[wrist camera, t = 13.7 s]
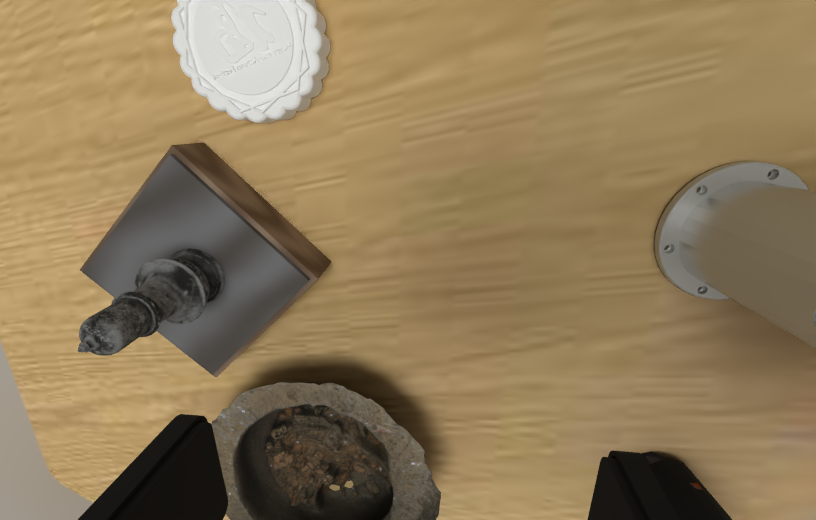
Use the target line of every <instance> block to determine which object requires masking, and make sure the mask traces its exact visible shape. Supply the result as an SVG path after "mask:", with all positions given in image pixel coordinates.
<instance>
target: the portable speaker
mask: <svg viewBox="0 0 816 520" xmlns="http://www.w3.org/2000/svg"><path fill="white" fill-rule="evenodd" d="M641 455H642V456H643V457H644V458H645V460H646V462H647V463H648V465H649V467H650V469H651V470H652V472H653V474H654V476H655V477H656V479H657V481H658V482H659V484H660V486H661V488H662V489H663V491H664V493H665V495H666V496H667V498H668V500H669V502H670V503H671V505H672V507H673V509H674V510H675V512H676V514H677V516H678V517H679V519H680V520H732V519H731V518H730V516H729V515H728V514H727V513H726V512H725V511H724V509H723V508H722V507H721V506H720V505H719V504H718V502H717V501H716V500H715V499H714V498H713V496H712V495H711V494H710V493H709V492H708V491H707V489H706V488H705V487H704V486H703V485H702V484H701V482H700V481H699V480H698V479H697V478H696V476H695V475H694V474H693V473H692V472H691V471H690V470H689V468H688V467H687V466H686V465H685V464H684V463H683V462H679V461H676V460H672V459H668V458H664V457H660V456H658V455H656V454H654V453H652V452H651V453H646V454H641Z"/></svg>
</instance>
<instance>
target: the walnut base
mask: <svg viewBox="0 0 816 520" xmlns="http://www.w3.org/2000/svg"><path fill="white" fill-rule="evenodd" d="M189 248H192V249H198V250H201V251H203V252H206V253H207V254H209V255H210V256H211V257H213V258H214V259H215V260H216V261H217V262H218V264H219V265H220V267H221V269H222V271H223V274H224V278H225V285H224V288H223V291H222V293H221V294H220V296H219V297H217V298H216V299H215V300H213V301H210V302H208V303H206V305H205V309H204V311H203V312H202V314H201V315H200V316H199V317H198V318H197V319H195V320H194V321H193V322H190V323H187V324H171V323H167V322H164V321H162V322H161V323H160V325H159V328H158V329H157V332H159V333H160V334H161V335H163V336H164V337H165V338H166V339H168V340H169V341H170V342H171V343H173V344H174V345H175V346H176V347H178V348H179V349H180V350H182V351H183V352H184V353H185V354H187V355H188V356H189V357H190V358H192V359H193V360H194V361H195V362H197V363H198V364H199V365H201V366H202V367H203V368H204V369H206V370H207V371H208V372H209V373H211V374H212V375H214V376H215V377H218V376H219V375H220V374H221V373H222V372H223V371H224V370H225V369H226V368H227V367H228V366H229V365H230V364H231V363H232V362H233V361H234V360H235V359H236V358H237V357H238V356H239V355H240V354H241V353H242V352H243V351H244V350H245V349H246V348H247V347H248V346H249V345H251V344H252V343H253V342H254V341H255V340H256V339H257V338H258V337H259V336H260V335H261V334H262V333H263V332H264V331H265V330H266V329H267V328H268V327H269V326H270V325H271V324H272V323H273V322H274V321H275V320H276V319H277V318H278V317H279V316H280V315H281V314H282V313H284V312H285V311H286V310H287V309H288V308H289V307H290V306H291V305H292V304H293V303H294V302H295V301H296V300H297V299H298V298H299V297H300V296H301V295H302V294H303V293H304V292H305V291H306V290H307V289H308V288H309V287H310V286H311V285H312V284H313V283H314V282H315V281H316V280H318V278H319V277H320V276H321V275H322V273H323V272H324V271H325V269H326V268H327V267H328V265H329V264H330V263H331V261H330V260H329V259H328V258H327V257H326V256H324V255H323V254H322V253H321V252H320V251H319V250H318V249H317V248H316V247H315V246H314V245H313V244H312V243H311V242H309V241H308V240H307V239H306V238H305V237H304V236H303V235H302V234H301V233H300V232H299V231H298V230H297V229H296V228H295V227H293V226H292V225H291V224H290V223H289V222H288V221H287V220H286V219H285V218H284V217H283V216H282V215H281V214H280V213H278V212H277V211H276V210H275V209H274V208H273V207H272V206H271V205H270V204H269V203H268V202H267V201H266V200H265V199H264V198H262V197H261V196H260V195H259V194H258V193H257V192H256V191H255V190H254V189H253V188H252V187H251V186H250V185H249V184H247V183H246V182H245V181H244V180H243V179H242V178H241V177H240V176H239V175H238V174H237V173H236V172H235V171H234V170H232V169H231V168H230V167H229V166H228V165H227V164H226V163H225V162H224V161H223V160H222V159H221V158H220V157H219V156H218V155H216V154H215V153H214V152H213V151H212V150H211V149H210V148H209V147H208V146H207V145H206V144H205V143H194V144H181V145H172V146H171V147H170V149H169V150H168V151H167V153H166V154H165V155H164V157H163V158H162V159H161V161H160V162H159V164H158V165H157V166H156V168H155V169H154V170H153V172H152V173H151V174H150V176H149V177H148V178H147V180H146V181H145V182H144V184H143V185H142V186H141V188H140V189H139V191H138V192H137V193H136V195H135V196H134V197H133V199H132V200H131V201H130V203H129V204H128V205H127V207H126V208H125V209H124V211H123V212H122V213H121V215H120V216H119V218H118V219H117V220H116V222H115V223H114V224H113V226H112V227H111V228H110V230H109V231H108V232H107V234H106V235H105V236H104V238H103V239H102V240H101V242H100V243H99V245H98V246H97V247H96V249H95V250H94V251H93V253H92V254H91V255H90V257H89V258H88V259H87V261H86V262H85V263H84V265H83V266H82V267H81V269H80V270H81V271H82V272H83V273H84V274H85V275H87V276H88V277H89V278H90V279H92V280H93V281H94V282H95V283H97V284H98V285H99V286H100V287H102V288H103V289H104V290H106V291H107V292H108V293H109V294H111V295H112V296H113V297H114V298H115V297H116V296H117V295H119V294H121V293H123V292H133V291H135V279H136V274H137V272H138V271H139V269H140V267H142V266H143V265H144V264H145V263H146V262H149V261H151V260H154V259H160V258H166V259H170V257H171V256H172V255H173V254H174V253H176V252H177V251H180V250H182V249H189Z"/></svg>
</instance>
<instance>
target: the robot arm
mask: <svg viewBox="0 0 816 520" xmlns="http://www.w3.org/2000/svg"><path fill="white" fill-rule="evenodd" d="M697 188H698V189H697ZM654 246H655V255H656V259H657V262H658V265H659V268H660V269H661V271H662V272H663V274H664V275H665V277H666V278H667V279H668V280H669V281H670V282H672V283H673V284H674V285H675V286H677V287H678V288H680V289H681V290H683V291H684V292H686V293H689V294H691V295H693V296H696V297H700V298H704V299H714V300H723V299H732V300H734V301H736V302H737V303H739V304H741V305H742V306H744V307H746V308H747V309H749V310H751V311H753V312H754V313H756V314H758V315H759V316H761V317H763V318H764V319H766V320H768V321H769V322H771V323H773V324H775V325H776V326H778V327H779V328H781V329H782V330H785V331H786V332H788V333H790V334H791V335H793V336H795V337H797V338H798V339H800V340H802V341H803V342H805V343H807V344H808V345H810V346H812V347H813V348H815V349H816V191H810V190H809V188H808V186H807V185H806V184H805V183H804V182H803V180H802V179H801V178H800V177H799V176H798V175H796V174H795V173H793V172H792V171H790V170H789V169H787V168H784V167H781V166H779V165H776V164H771V163H764V162H753V161H743V162H736V163H729V164H726V165H723V166H720V167H716V168H714V169H712V170H710V171H708V172H706V173H704V174H702V175H700V176H698V177H697V178H695V179H694V180H693V181H691V182H690V183H688V184H687V185H686V186H685V187H684V188H683V189H682V190H681V191H679V192H678V193H677V194H676V195H675V197H674V198H673V199H672V201H671V202H670V203H669V204H668V206H667V207H666V209H665V211H664V213H663V215H662V217H661V218H660V221H659V224H658V227H657V230H656V235H655V244H654ZM227 507H228V496H227V491H226V487H225V482H224V478H223V473H222V469H221V464H220V460H219V455H218V450H217V446H216V441H215V437H214V432H213V428H212V425H211V424H210V423H208V422H207V419H206V418H205V417H204V416H197V415H185V414H180V415H178V416H176V417H175V418H174V419H173V420H172V421H171V422H170V423H169V424H168V425H167V426H166V427H165V428H164V429H163V431H162V432H161V433H160V434H159V435H158V436H157V437H156V438H155V439H154V440H153V441H152V442H151V443H150V444H149V445H148V446H147V447H146V448H145V449H144V450H143V452H142V453H141V454H140V455H139V456H138V457H137V458H136V459H135V460H134V461H133V462H132V463H131V464H130V465H129V466H128V467H127V468H126V469H125V470H124V471H123V473H122V474H121V475H120V476H119V477H118V478H117V479H116V480H115V481H114V482H113V483H112V484H111V485H110V486H109V487H108V488H107V489H106V490H105V491H104V493H103V494H102V495H101V496H100V497H99V498H98V499H97V500H96V501H95V502H94V503H93V504H92V505H91V506H90V507H89V508H88V509H87V510H86V512H85V513H84V514H83V515H82V516H81V517H80V518H79V519H78V520H223V518H224V516H225V514H226V511H227ZM588 520H680V519H679V517H678V516H677V514H676V512H675V510H674V509H673V507H672V505H671V503H670V502H669V500H668V498H667V496H666V495H665V493H664V491H663V489H662V488H661V486H660V484H659V482H658V481H657V479H656V477H655V476H654V474H653V472H652V470H651V469H650V467H649V465H648V463H647V462H646V460H645V458H644V457H643V456H642V455H641V454H640V453H634V452H622V451H611V452H610V453H609V456H608V457H602V459H601V462H600V466H599V471H598V475H597V480H596V484H595V489H594V493H593V498H592V502H591V507H590V511H589V516H588Z"/></svg>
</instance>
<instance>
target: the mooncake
mask: <svg viewBox="0 0 816 520" xmlns="http://www.w3.org/2000/svg"><path fill="white" fill-rule="evenodd" d="M177 3H178V6H177V7H176V8H175V9H174V10H173V12H172V16H171V19H172V23H173V26H174V28H175V29H176V32H175V33H174V35H173V45H174V47H175V49H176V51H177V52H178V53H179V54H180V55H181V57H180V66H181V69H182V71H183V72H184V73H185V74H186V75H187V76H188V77H190V78H192V85H193V88H194V90H195V91H196V92H197V93H198V94H199V95H201V96H203V97H207V98H208V101H209V103H210V105H211V106H212V107H213V108H214V109H216V110H218V111H225V112H227V113H228V114H229V116H231V117H232V118H233V119H236V120H250V121H252V122H254V123H273V122H275V121H276V120H289V119H291V118H293V117H294V115H295V114H296V111H304V110H306V109H307V108H308V107H309V106H310V103H311V98H314V97H316V96H318V95H319V94H320V92H321V90H322V81H321V80H322V79H324V78H325V77H326V76H327V74H328V71H329V64H328V61H327V59H326V57H327V56H328V55H329V52H330V42H329V40H328V38H327V36H326V35H324V33H325V31H326V22H325V19H324V17H323V16H322V15H321V14H320V13H319V12H318V11H317V10H316V2H315V0H177Z"/></svg>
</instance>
